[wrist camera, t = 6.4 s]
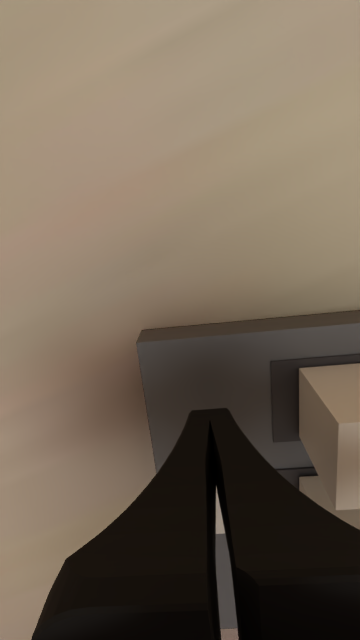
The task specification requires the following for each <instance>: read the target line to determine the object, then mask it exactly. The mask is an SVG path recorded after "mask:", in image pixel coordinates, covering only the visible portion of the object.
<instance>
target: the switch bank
mask: <svg viewBox="0 0 360 640" xmlns="http://www.w3.org/2000/svg"><path fill="white" fill-rule="evenodd" d="M136 345H137V351H138V357H139V364H140V370H141V377H142V383H143V389H144V396H145V402H146V409H147V415H148V421H149V428H150V434H151V441H152V447H153V453H154V460H155V466H156V473H158V471H159V470H160V468H161V467H162V465H163V464H164V462H165V461H166V459H167V457H168V456H169V454H170V453H171V451H172V449H173V448H174V446H175V444H176V442H177V440H178V438H179V436H180V434H181V432H182V430H183V428H184V426H185V423H186V421H187V418H188V415H189V413H190V412H191V411H192V410H204V409H217V408H227V409H228V410H230V413H231V414H232V416H233V418H234V420H235V421H236V423H237V424H238V426H239V427H240V429H241V430H242V432H243V433H244V434H245V436H246V437H247V438H248V439H249V441H250V442H251V443H252V445H253V446H254V447H255V448H256V449H257V450H258V452H259V453H260V454H261V455H262V456H263V457H264V458H265V459H266V460H267V461H268V462H269V463H270V465H271V466H272V467H273V468H274V469H275V470H277V471H278V472H279V473H280V474H281V475H282V476H283V477H284V478H285V479H286V480H287V481H289V482H290V483H291V484H292V485H293V486H295V487H296V488H297V489H298V490H299V477H306V476H319V475H318V473H317V471H316V469H315V467H314V465H313V463H312V461H311V459H310V457H309V455H308V453H307V451H306V449H305V447H304V445H303V443H302V441H301V439H300V437H299V368H307V367H319V366H332V365H344V364H357V363H360V310H358V311H347V312H336V313H325V314H314V315H303V316H292V317H281V318H270V319H259V320H248V321H237V322H226V323H215V324H204V325H193V326H182V327H172V328H161V329H150V330H142V331H141V334H140V336H139V338H138V340H137V342H136ZM216 576H217V590H218V603H219V617H220V629H232V628H238V627H237V618H236V609H235V599H234V590H233V581H232V571H231V564H230V557H229V551H228V546H227V540H226V535H225V530H224V525H223V519H222V514H221V509H220V503H219V498H218V493H217V488H216Z"/></svg>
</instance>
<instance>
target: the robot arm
mask: <svg viewBox="0 0 360 640" xmlns="http://www.w3.org/2000/svg"><path fill="white" fill-rule="evenodd" d="M216 488H217V493H218V498H219V503H220V509H221V514H222V519H223V525H224V530H225V535H226V540H227V546H228V551H229V557H230V564H231V571H232V581H233V590H234V599H235V609H236V618H237V627H238V637H239V640H360V530H359V529H357V528H355V527H354V526H352V525H350V524H348V523H346V522H345V521H343V520H341V519H340V518H338V517H337V516H335V515H333V514H332V513H330V512H329V511H327V510H326V509H324V508H323V507H321V506H320V505H318V504H317V503H316V502H314V501H313V500H312V499H310V498H309V497H308V496H306V495H305V494H303V493H302V492H301V491H299V490H298V489H297V488H296V487H295V486H293V485H292V484H291V483H290V482H289V481H287V480H286V479H285V478H284V477H283V476H282V475H281V474H280V473H279V472H278V471H277V470H275V469H274V468H273V467H272V466H271V465H270V463H269V462H268V461H267V460H266V459H265V458H264V457H263V456H262V455H261V454H260V453H259V452H258V450H257V449H256V448H255V447H254V446H253V445H252V443H251V442H250V441H249V439H248V438H247V437H246V436H245V434H244V433H243V432H242V430H241V429H240V427H239V426H238V424H237V423H236V421H235V420H234V418H233V416H232V414H231V413H230V410H228V409H227V408H217V409H204V410H192V411H191V412H190V413H189V415H188V418H187V421H186V423H185V426H184V428H183V430H182V432H181V434H180V436H179V438H178V440H177V442H176V444H175V446H174V448H173V449H172V451H171V453H170V454H169V456H168V457H167V459H166V461H165V462H164V464H163V465H162V467H161V468H160V470H159V471H158V473H157V474H156V475H155V477H154V478H153V479H152V481H151V482H150V483H149V484H148V486H147V487H146V488H145V489H144V490H143V492H142V493H141V494H140V495H139V496H138V497H137V498H136V500H135V501H134V502H133V503H132V504H131V505H130V506H129V507H128V508H127V509H126V510H125V511H124V512H123V513H122V514H121V515H120V516H119V517H118V518H117V519H116V520H114V521H113V522H112V523H111V524H110V525H109V526H108V527H107V528H106V529H105V530H103V531H102V532H101V533H100V534H98V535H97V536H96V537H95V538H93V539H92V540H91V541H89V542H88V543H87V544H85V545H84V546H83V547H82V548H80V549H79V550H78V551H76V552H75V553H74V554H72V555H71V556H69V557H68V558H67V559H66V560H65V562H64V564H63V566H62V568H61V570H60V572H59V574H58V576H57V578H56V580H55V582H54V584H53V586H52V588H51V590H50V592H49V594H48V597H47V600H46V602H45V605H44V607H43V610H42V613H41V615H40V618H39V620H38V623H37V625H36V628H35V631H34V633H33V636H32V640H221V631H220V617H219V603H218V590H217V576H216Z"/></svg>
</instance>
